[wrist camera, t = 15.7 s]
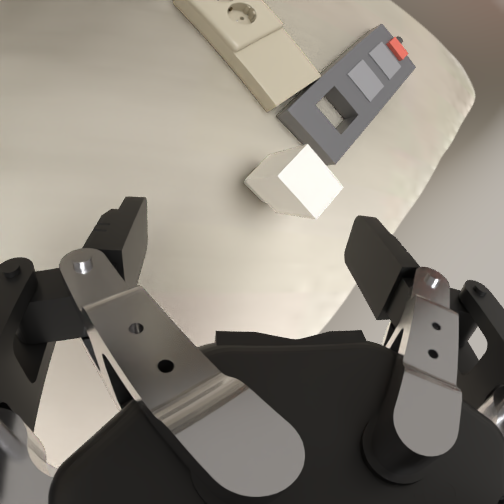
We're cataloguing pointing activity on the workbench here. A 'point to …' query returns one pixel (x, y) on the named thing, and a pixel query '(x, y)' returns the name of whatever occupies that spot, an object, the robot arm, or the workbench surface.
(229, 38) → the electrical outlet
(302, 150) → the block
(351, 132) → the power strip
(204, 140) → the workbench surface
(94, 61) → the workbench surface
